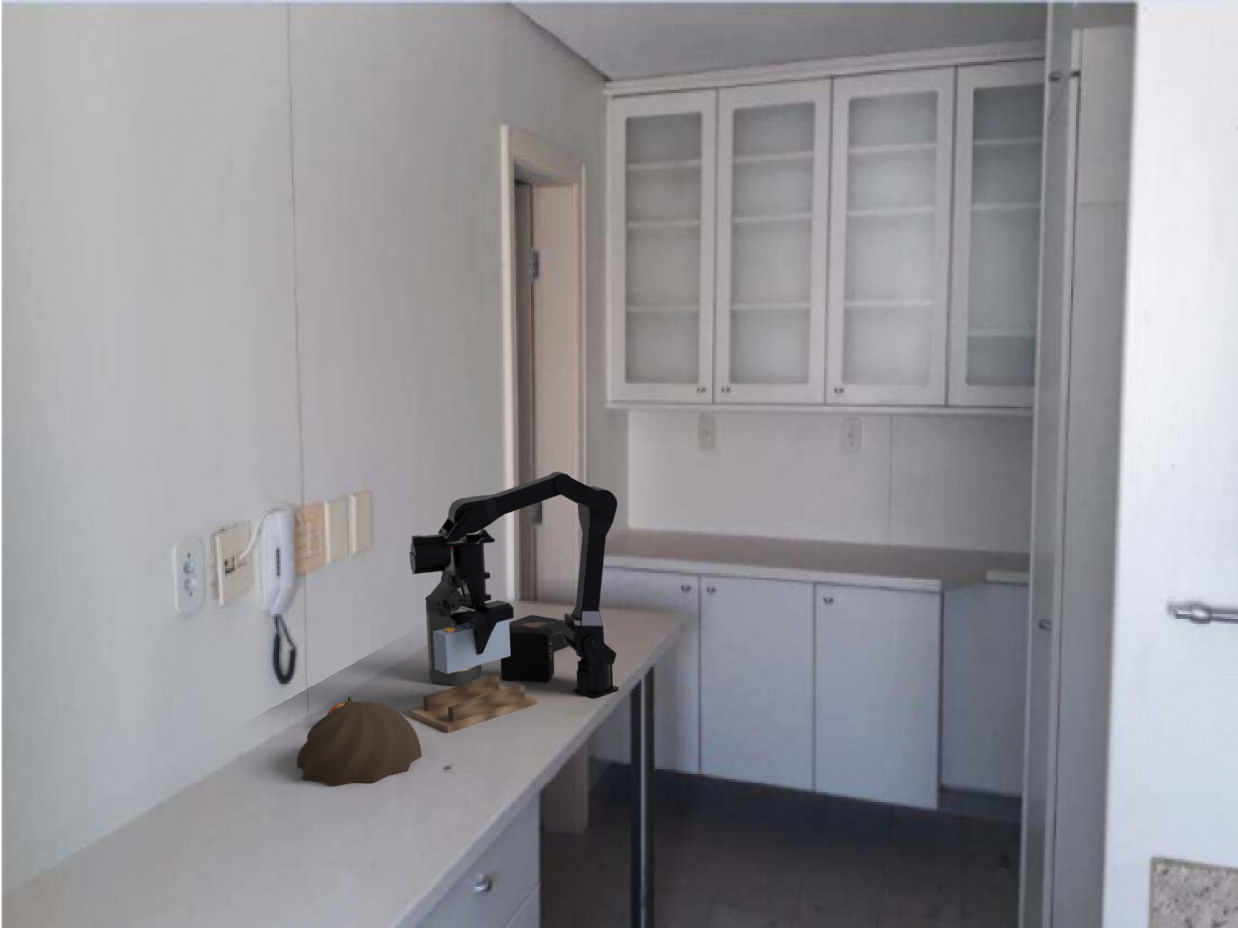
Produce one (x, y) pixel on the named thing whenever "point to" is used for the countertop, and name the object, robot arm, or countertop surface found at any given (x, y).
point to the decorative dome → (358, 745)
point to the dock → (471, 704)
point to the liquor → (433, 625)
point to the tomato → (341, 704)
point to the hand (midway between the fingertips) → (473, 651)
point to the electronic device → (529, 655)
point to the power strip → (468, 647)
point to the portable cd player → (544, 622)
